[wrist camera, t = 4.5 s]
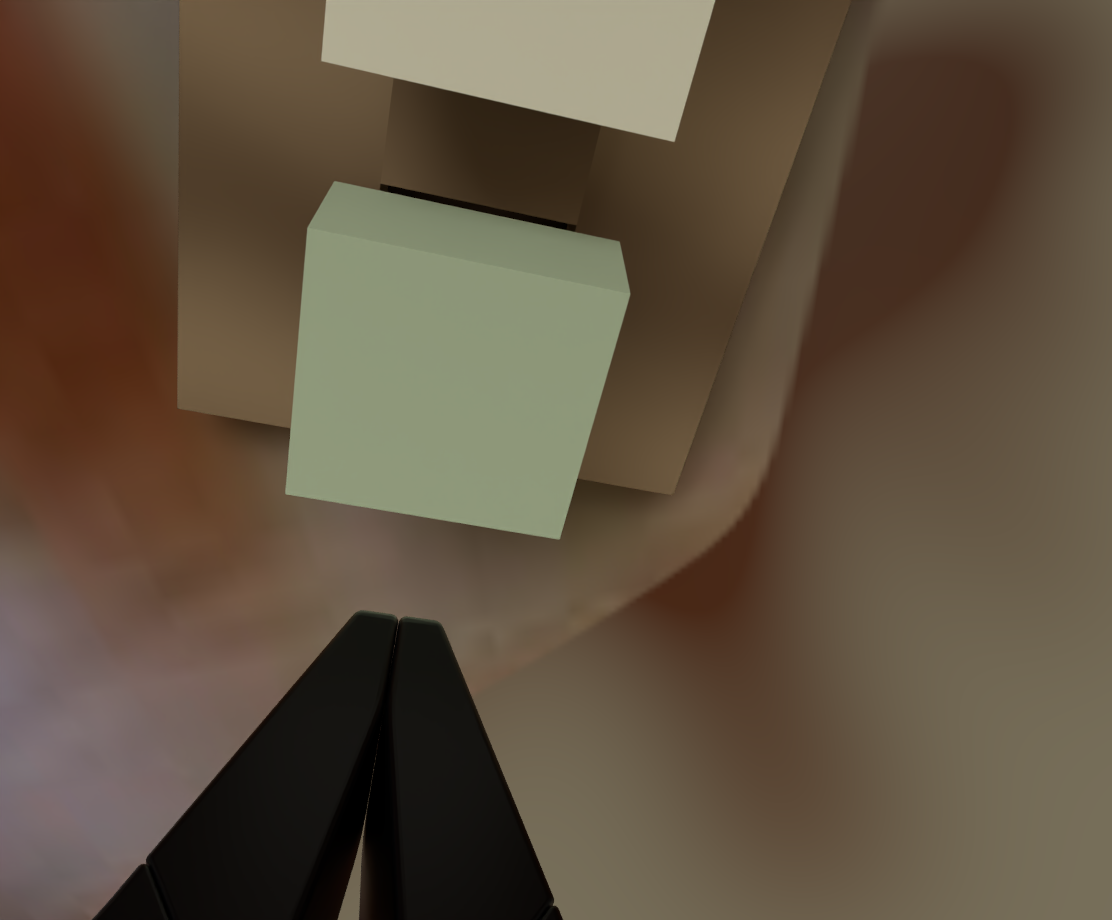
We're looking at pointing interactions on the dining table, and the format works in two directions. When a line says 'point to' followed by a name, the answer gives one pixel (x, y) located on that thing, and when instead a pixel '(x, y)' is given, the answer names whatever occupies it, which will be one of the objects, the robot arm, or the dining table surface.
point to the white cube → (534, 53)
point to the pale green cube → (449, 360)
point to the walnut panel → (484, 200)
